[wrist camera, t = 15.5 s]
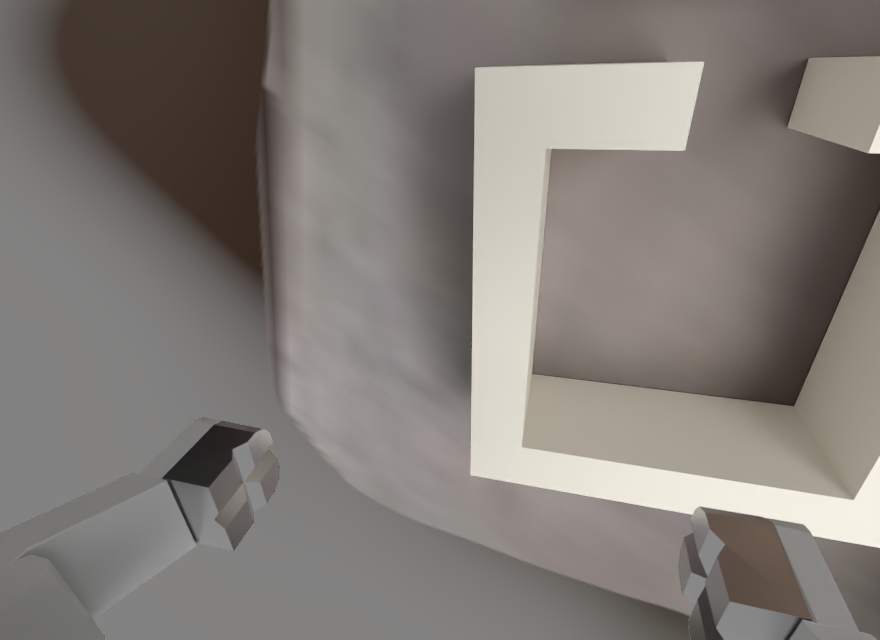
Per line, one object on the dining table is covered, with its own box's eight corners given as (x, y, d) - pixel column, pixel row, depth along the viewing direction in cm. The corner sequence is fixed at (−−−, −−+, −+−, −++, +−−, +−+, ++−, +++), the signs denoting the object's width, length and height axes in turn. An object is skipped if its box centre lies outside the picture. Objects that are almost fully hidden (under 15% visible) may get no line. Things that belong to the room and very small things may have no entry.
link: (500, 65, 16) (475, 67, 12) (1034, 51, 13) (1254, 48, 9) (489, 401, 24) (470, 475, 19) (830, 448, 20) (898, 550, 16)
